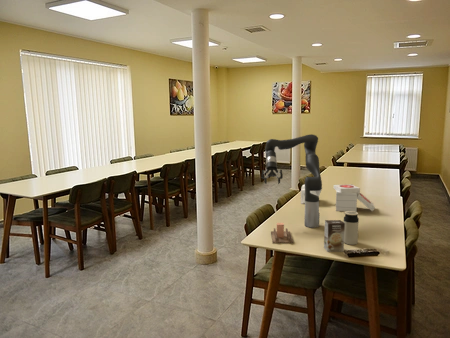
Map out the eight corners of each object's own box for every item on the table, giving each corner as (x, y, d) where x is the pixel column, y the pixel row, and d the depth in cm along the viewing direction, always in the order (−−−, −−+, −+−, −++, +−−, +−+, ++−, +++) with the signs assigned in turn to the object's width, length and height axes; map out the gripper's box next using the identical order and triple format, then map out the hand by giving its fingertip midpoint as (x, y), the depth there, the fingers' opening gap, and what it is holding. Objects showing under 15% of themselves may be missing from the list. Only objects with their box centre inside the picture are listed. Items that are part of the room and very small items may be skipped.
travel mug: (360, 244, 198) (361, 214, 195) (346, 245, 197) (347, 214, 194) (353, 239, 205) (355, 210, 203) (340, 240, 205) (341, 211, 202)
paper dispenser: (375, 213, 257) (376, 190, 254) (333, 211, 266) (333, 188, 263) (372, 207, 275) (373, 185, 272) (333, 205, 284) (333, 183, 281)
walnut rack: (289, 232, 219) (289, 228, 219) (293, 243, 202) (293, 238, 201) (270, 232, 220) (270, 228, 220) (272, 243, 203) (272, 238, 202)
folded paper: (301, 184, 285) (322, 186, 281) (302, 179, 308) (322, 181, 304) (299, 204, 288) (320, 207, 284) (300, 197, 311) (320, 200, 307)
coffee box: (327, 252, 188) (328, 223, 186) (323, 247, 194) (324, 220, 192) (344, 251, 188) (345, 223, 186) (339, 247, 195) (340, 219, 192)
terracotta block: (283, 235, 213) (283, 222, 211) (283, 237, 209) (283, 224, 207) (276, 235, 213) (276, 222, 212) (277, 237, 209) (277, 224, 208)
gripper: (261, 160, 240) (261, 180, 231) (282, 160, 239) (283, 180, 230) (261, 167, 246) (261, 186, 237) (281, 167, 245) (282, 186, 236)
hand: (272, 183), depth 233 cm, fingers open, 8 cm apart
